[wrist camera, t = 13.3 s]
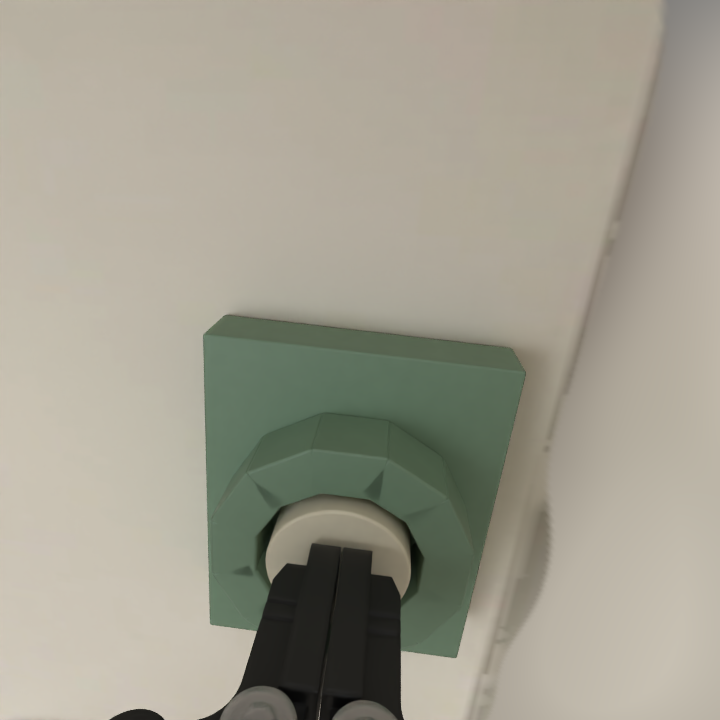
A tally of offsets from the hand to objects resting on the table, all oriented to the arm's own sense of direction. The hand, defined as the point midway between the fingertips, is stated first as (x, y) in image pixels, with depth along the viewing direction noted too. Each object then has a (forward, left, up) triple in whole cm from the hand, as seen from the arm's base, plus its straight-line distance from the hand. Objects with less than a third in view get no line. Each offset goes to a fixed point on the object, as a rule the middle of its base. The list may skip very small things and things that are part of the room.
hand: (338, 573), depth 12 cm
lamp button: (0, 0, -2) cm, 2 cm away
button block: (0, 0, -4) cm, 4 cm away
